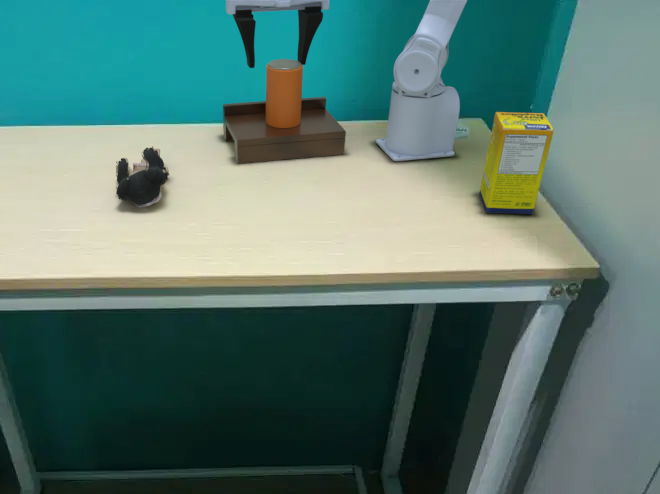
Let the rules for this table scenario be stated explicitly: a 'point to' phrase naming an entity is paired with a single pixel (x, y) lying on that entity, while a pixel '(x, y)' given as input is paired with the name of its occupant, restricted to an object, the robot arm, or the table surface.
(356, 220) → the table surface
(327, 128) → the shelf
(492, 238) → the table surface
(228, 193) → the table surface
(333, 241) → the table surface
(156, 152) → the toy figure
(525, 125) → the supplement box
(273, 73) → the can
